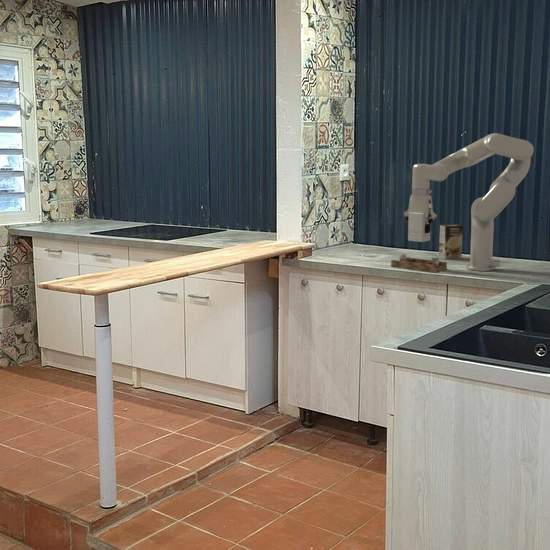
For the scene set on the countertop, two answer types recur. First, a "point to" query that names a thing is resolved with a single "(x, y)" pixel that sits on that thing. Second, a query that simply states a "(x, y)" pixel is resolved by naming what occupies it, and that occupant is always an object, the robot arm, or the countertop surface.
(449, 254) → the coffee box
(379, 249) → the countertop surface
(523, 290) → the countertop surface
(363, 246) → the countertop surface
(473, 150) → the robot arm
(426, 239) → the supplement box
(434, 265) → the brown textured block
